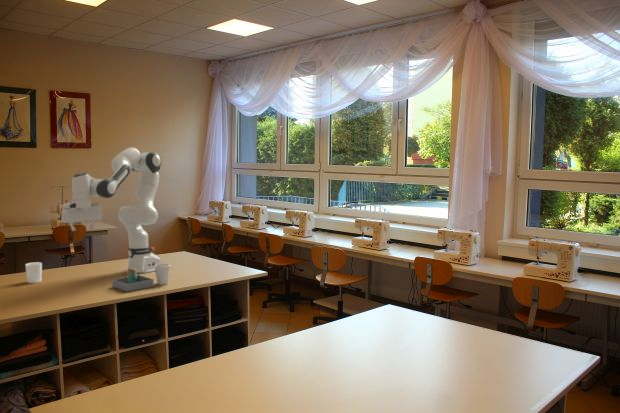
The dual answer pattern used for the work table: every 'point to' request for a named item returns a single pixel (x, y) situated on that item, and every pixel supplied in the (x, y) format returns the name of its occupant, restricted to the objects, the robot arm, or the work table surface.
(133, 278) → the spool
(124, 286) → the bin
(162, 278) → the dixie cup
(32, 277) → the white cup
